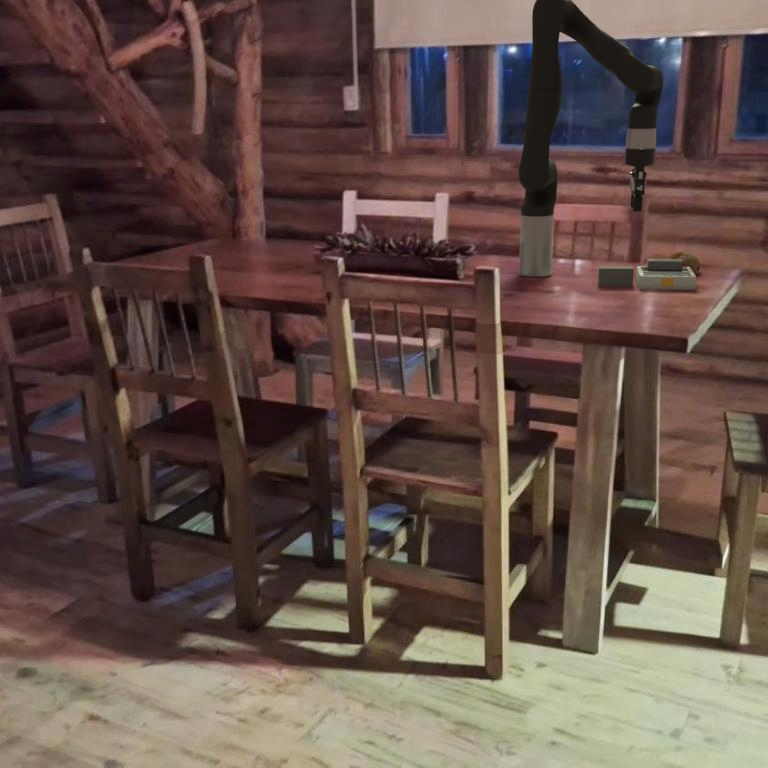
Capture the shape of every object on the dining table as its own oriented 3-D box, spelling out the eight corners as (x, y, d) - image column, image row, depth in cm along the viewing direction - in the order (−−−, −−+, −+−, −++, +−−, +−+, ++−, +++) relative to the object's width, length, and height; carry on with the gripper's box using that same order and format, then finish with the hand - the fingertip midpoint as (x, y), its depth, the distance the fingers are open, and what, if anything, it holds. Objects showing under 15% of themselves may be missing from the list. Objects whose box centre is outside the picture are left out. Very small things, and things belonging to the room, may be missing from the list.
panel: (598, 286, 236) (599, 268, 235) (598, 283, 240) (598, 265, 238) (632, 287, 234) (633, 268, 233) (632, 284, 238) (633, 266, 236)
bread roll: (691, 289, 247) (706, 264, 244) (658, 272, 249) (672, 247, 245) (691, 282, 256) (706, 258, 253) (659, 266, 258) (673, 242, 254)
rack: (639, 289, 230) (640, 267, 228) (636, 278, 244) (637, 257, 243) (695, 290, 227) (697, 267, 225) (688, 279, 242) (690, 257, 240)
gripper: (624, 145, 235) (619, 206, 240) (627, 148, 222) (623, 212, 227) (652, 145, 234) (647, 206, 239) (658, 148, 221) (653, 212, 226)
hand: (635, 209), depth 233 cm, fingers open, 8 cm apart
